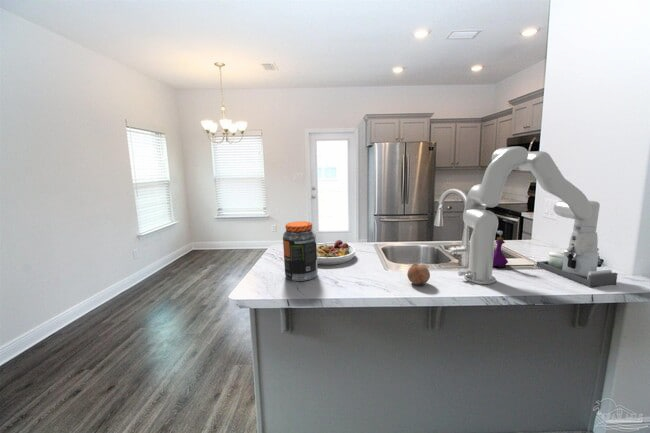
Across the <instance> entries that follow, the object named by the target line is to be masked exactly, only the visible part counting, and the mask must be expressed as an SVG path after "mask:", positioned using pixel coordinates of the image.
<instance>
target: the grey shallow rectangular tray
mask: <svg viewBox="0 0 650 433" xmlns="http://www.w3.org/2000/svg"><path fill="white" fill-rule="evenodd" d="M537 266H538V267H537ZM535 267H537V268H539V267H540V268H539V269H542V270H545V271H547V272H549V273H553V274H554V275H557V276H560V277H562V278H565V279H567V280H569V281H571V282H576V283H578V284H580V285H583V286H585V287H588V288H597V287H605V286H615V285H617V280H618V279H617V278H618V272H612V273H605V274H595V275H589V277H585V276H581V275H577V274H573V273H569V272H566V271H563V270H560V269H558V268H555V267H552V266H549V265H548V260H542V261H541V260H540V261H536V266H535ZM587 279H588V280H587Z"/></svg>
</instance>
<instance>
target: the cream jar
mask: <svg viewBox="0 0 650 433" xmlns="http://www.w3.org/2000/svg"><path fill="white" fill-rule="evenodd" d="M563 260H564V252H561V251H554V250H553V251H552V250H551V251H548V260H547V261H548V265H549V266H552V267H555V268H558V269H560V270H562V268H563Z"/></svg>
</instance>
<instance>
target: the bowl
mask: <svg viewBox="0 0 650 433" xmlns="http://www.w3.org/2000/svg"><path fill="white" fill-rule="evenodd" d="M316 246H317V265H320V266H321V265H322V266H323V265H325V266H329V265H330V266H332V265H333V266H334V265H335V266H336V265H339V264H344V263H347V262H349V261H351V260H352V259H353V258H354V256H355V255H356V249H355V247H354V246H352V245H351V244H348V243H347V242H343V241H342V240H341V239H339V240H336V241H335V242H323V243H322V242H321V243H316Z"/></svg>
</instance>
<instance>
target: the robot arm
mask: <svg viewBox="0 0 650 433" xmlns="http://www.w3.org/2000/svg"><path fill="white" fill-rule="evenodd" d="M513 170H515V171H523V172H531V173H532V175H533V177H534V179H535V180H536V181H537V183H538V184H539V185H540V188H541V189H542V190H544V191H545V192H546V193H549V194H550V195H553V196H555V197H556V198H559V199H560V200H559V201H557V202H556V203H555V204H554V206H553V212H554V214H556V215H557V216H559V217H562V218H566V219H571V220H574V223H573V231H572V233H571V236H570V238H569V242H568V247H567V248H565V249H566V250H565V249H564V252H565V254H566V256H567V258H568V265H567V266H568V267H570V268H572V269H575V267H576V260H575V259H576V258H577V256H578V255H580V256H582V255H584V253H586V252H598V253H599V250H600V249H599V247H598V242H599V239H598V232H597V229H598V228H597V227H598V220H599V212H600V206H601V205H600V202H598V201H595V200H589V199H588V198H587V196H586V195H585V193H583V191H582V190H580V189H579V188H578V187H576V186H575V185H574V184H573V183H572V182H571V181H569V180H568V179H566V178H565V176H564V174H562V172H561V170H560V169H559V167H558V166H557V164H556V162H555V161H554V160H553V158H552V156H551V154H549V153H548V152H547V151H542V150H541V151H540V150H537V151H529V150H528V149H527V148H525V147H523V146H518V145H517V146H508V147H499V148H497V149H496V150H495V151H494V152H493V153H492V154H491V162H490V163H489V164H488V166H487V167H486V169H485V172H484V174H483V178H482V180H481V183H478V184H475V185H473V186H472V187H471V188H470V189H469V191H468V193H467V197H466V200H465V204H464V210H463V213H462V221H463V222H464V224H465V226H468V227H470V228H472V232H471V234H470V240H469V252H468V253H469V256H468V267H467V268H466V269H465V270H464V271H463V270H462V271H458V272H457V274H458V276H459V277H461V276H464V279H465V280H466V281H468V282H471V283H474V284H479V285H492V284H495V283H496V277H495V276H494V275H493V267H494V266H493V256H494V251H495V243H496V242H495V241H496V234H497V232H496V231H498V228H499V218H498V216H497V215H496V214H495V213H494V212H493V211H491V210H487V209H486V208H495V207H497V206H498V205H499V204H500V202H501V200H502V197H503V194H504V193H503V192H504V189H505V188H504V187H505V185H506V181H507V178H508V175H509V174H510V173H511V172H512V171H513ZM573 251H575V253H574V252H573ZM564 252H563V253H564ZM572 254H574V256H572Z"/></svg>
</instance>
